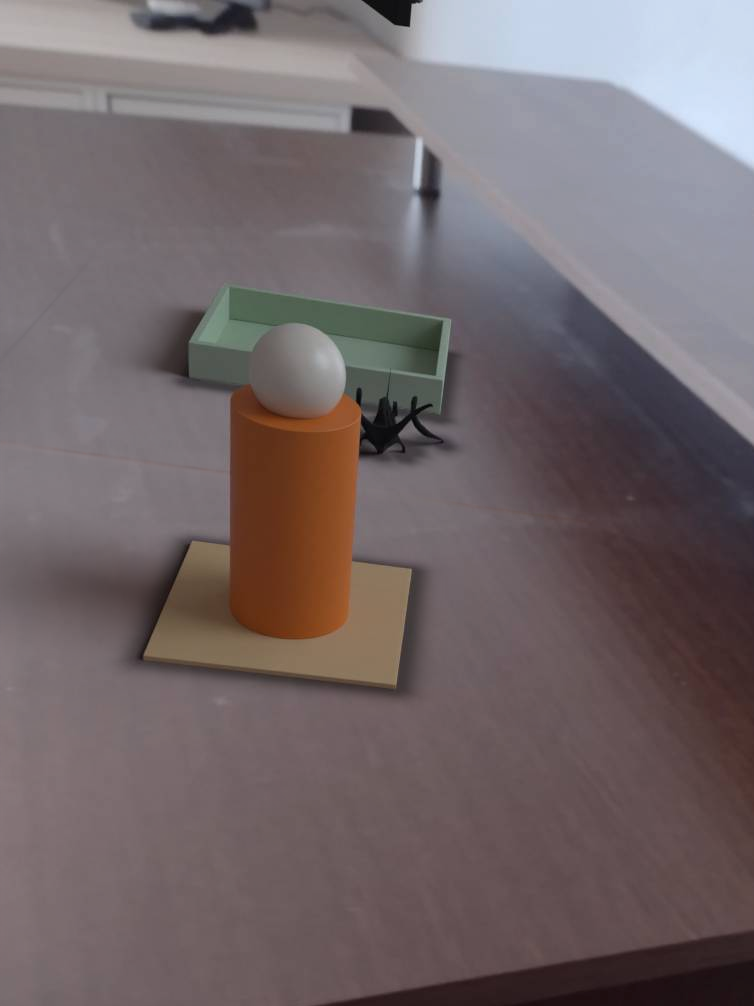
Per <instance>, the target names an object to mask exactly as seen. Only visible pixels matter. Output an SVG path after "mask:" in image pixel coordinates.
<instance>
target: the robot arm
mask: <svg viewBox="0 0 754 1006" xmlns="http://www.w3.org/2000/svg"><path fill="white" fill-rule="evenodd" d="M361 1H362V2H363V3H365V4H366V5H367V6H368V7H369V8H371V9H372V10H374V11H375V12H376V13H377V14H379V15H380V16H382V17H383V18H384V19H386V20H387V21H388V22H390V24H392V25H394V26H396V27H397V26H398V27H405V28H411V19H412V5H416V4H422V3H424V0H361Z"/></svg>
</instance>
